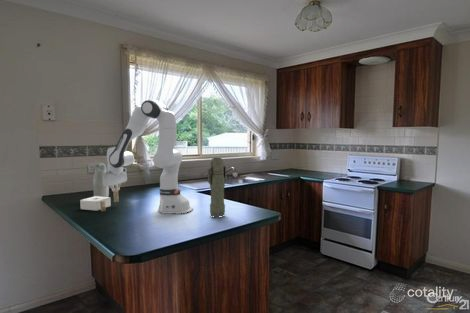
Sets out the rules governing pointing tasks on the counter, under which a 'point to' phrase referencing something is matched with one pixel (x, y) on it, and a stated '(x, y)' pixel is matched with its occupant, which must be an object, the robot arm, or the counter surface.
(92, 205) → the hole block
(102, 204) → the short pin
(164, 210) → the robot arm
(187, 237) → the counter surface
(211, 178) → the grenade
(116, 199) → the long pin
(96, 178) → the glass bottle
